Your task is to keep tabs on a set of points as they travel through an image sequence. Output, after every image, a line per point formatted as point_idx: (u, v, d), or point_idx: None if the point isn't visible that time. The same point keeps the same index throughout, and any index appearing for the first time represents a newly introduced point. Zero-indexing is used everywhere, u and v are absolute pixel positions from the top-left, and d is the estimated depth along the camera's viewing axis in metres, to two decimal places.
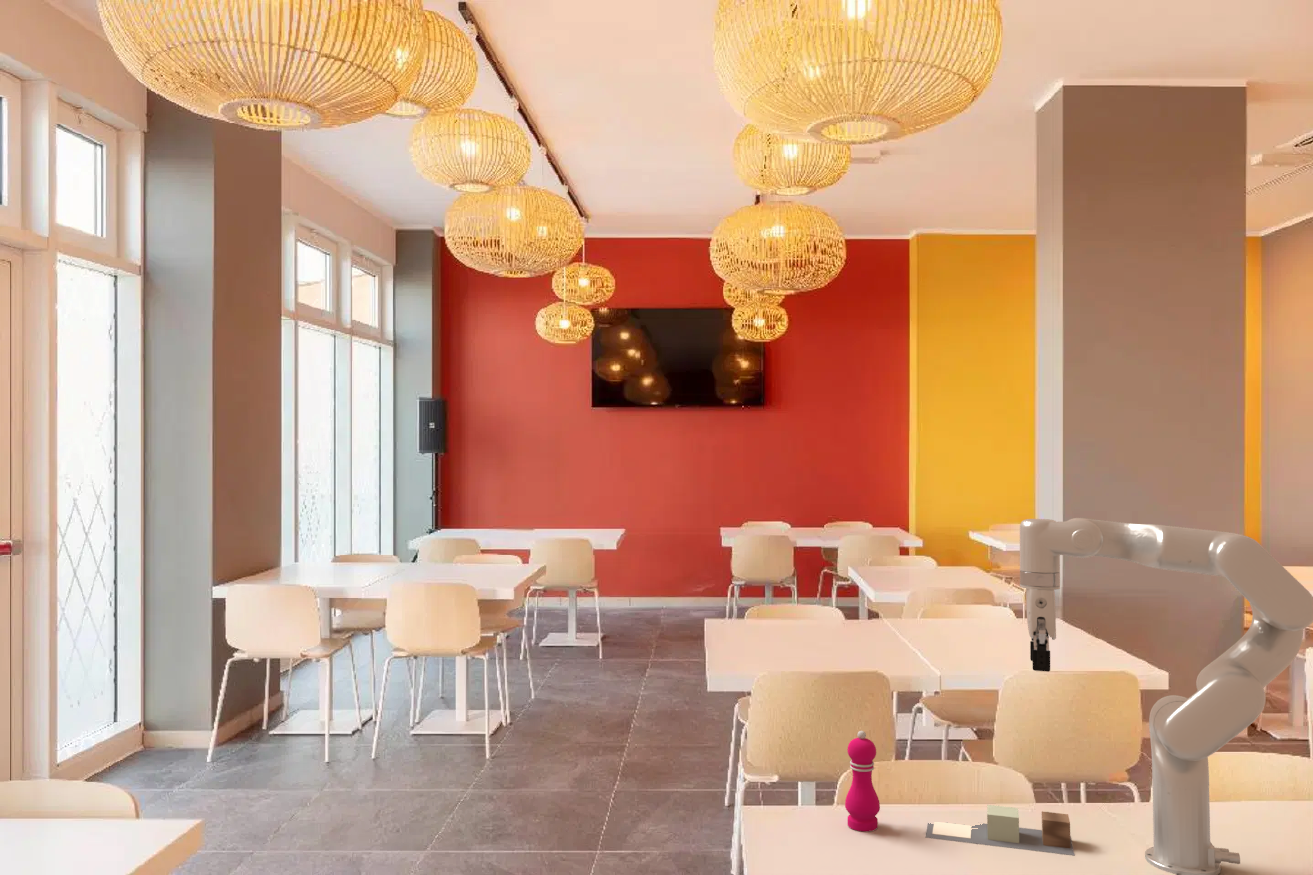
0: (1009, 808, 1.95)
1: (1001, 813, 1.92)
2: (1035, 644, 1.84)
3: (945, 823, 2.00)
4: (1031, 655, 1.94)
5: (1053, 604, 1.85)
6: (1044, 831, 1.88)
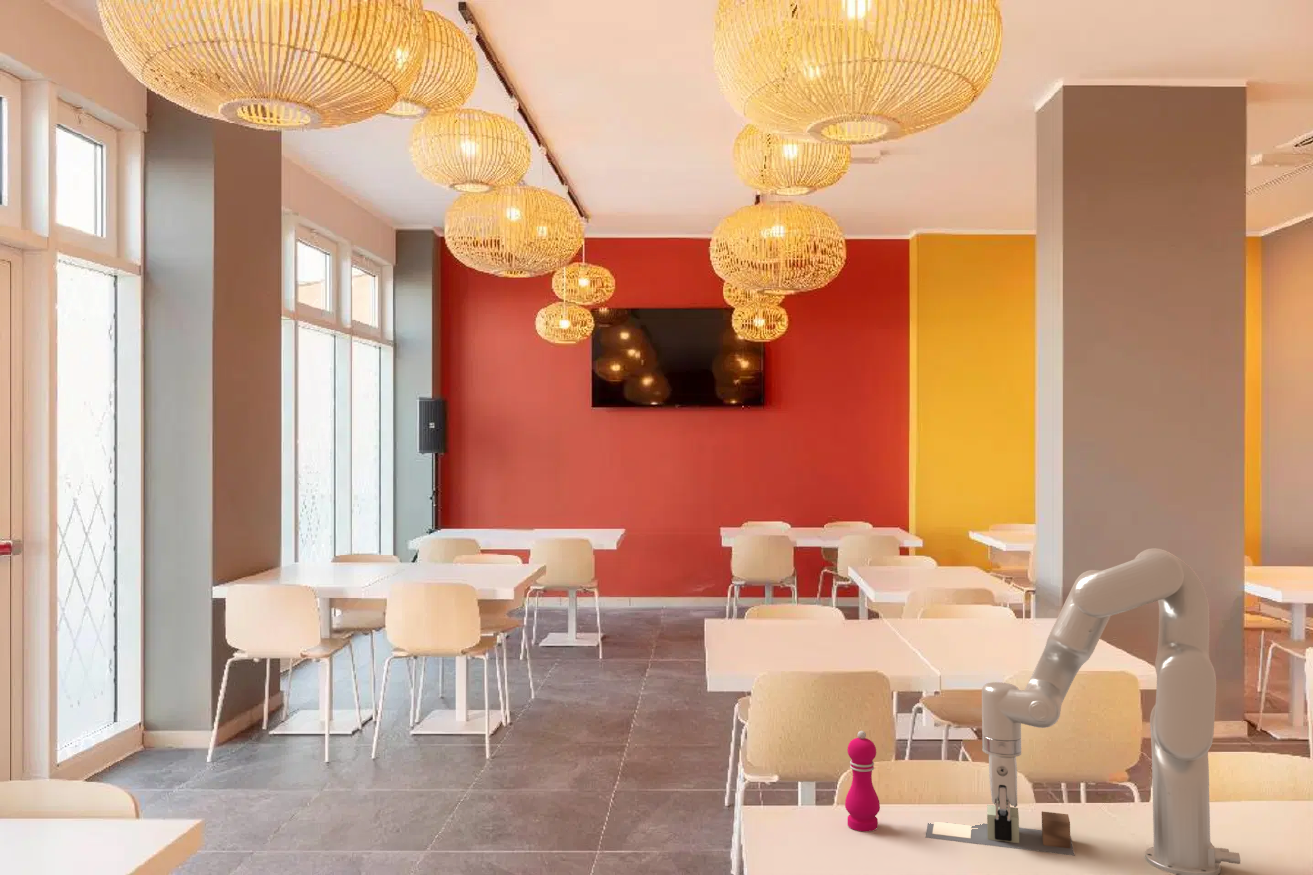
0: None
1: None
2: (997, 815, 1.90)
3: (945, 823, 2.00)
4: None
5: (1014, 772, 1.89)
6: (1044, 831, 1.88)
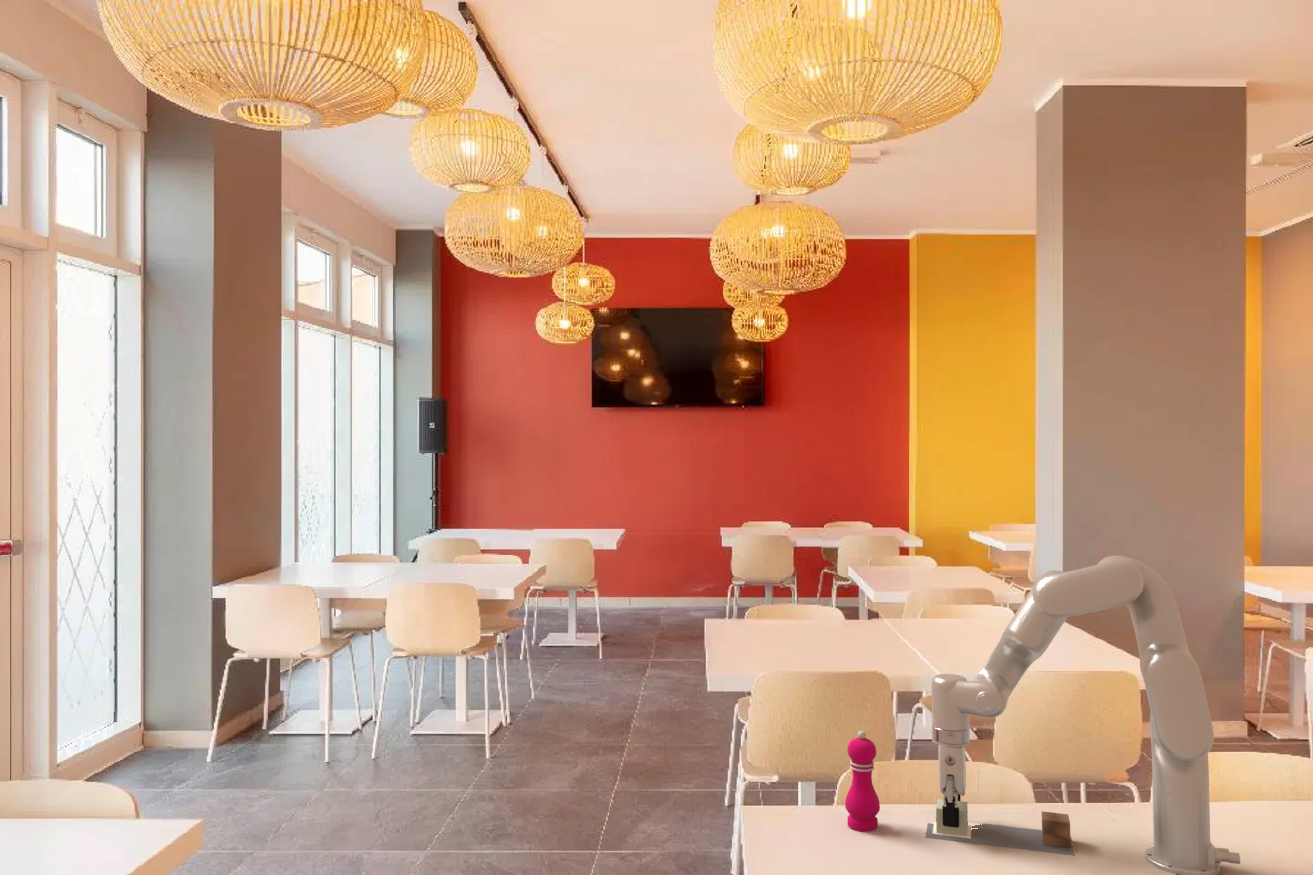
0: (958, 802, 1.98)
1: None
2: (944, 801, 1.92)
3: None
4: None
5: (961, 762, 1.92)
6: (1044, 831, 1.88)
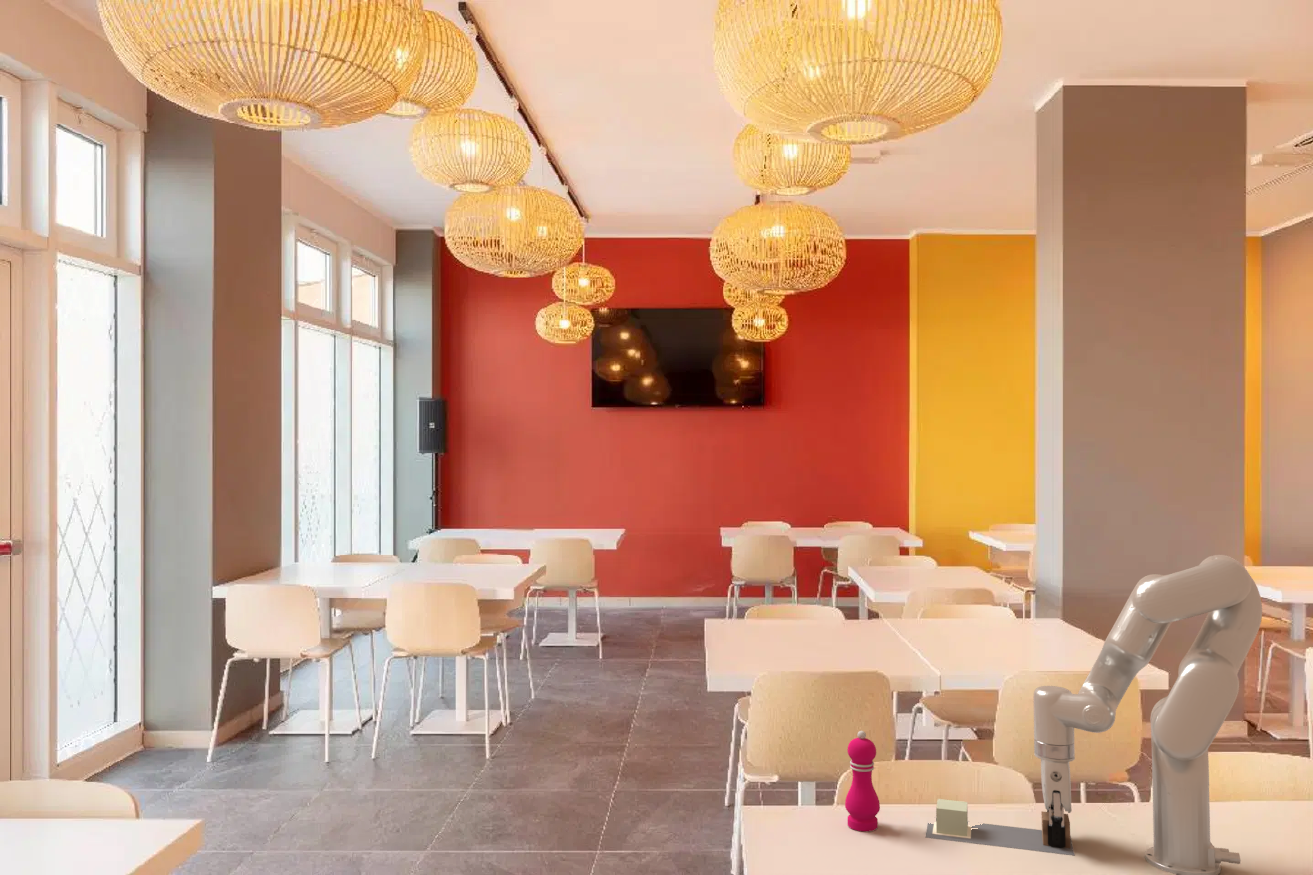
0: (958, 802, 1.98)
1: (949, 806, 1.96)
2: (1050, 821, 1.87)
3: None
4: None
5: (1068, 777, 1.85)
6: (1044, 831, 1.88)
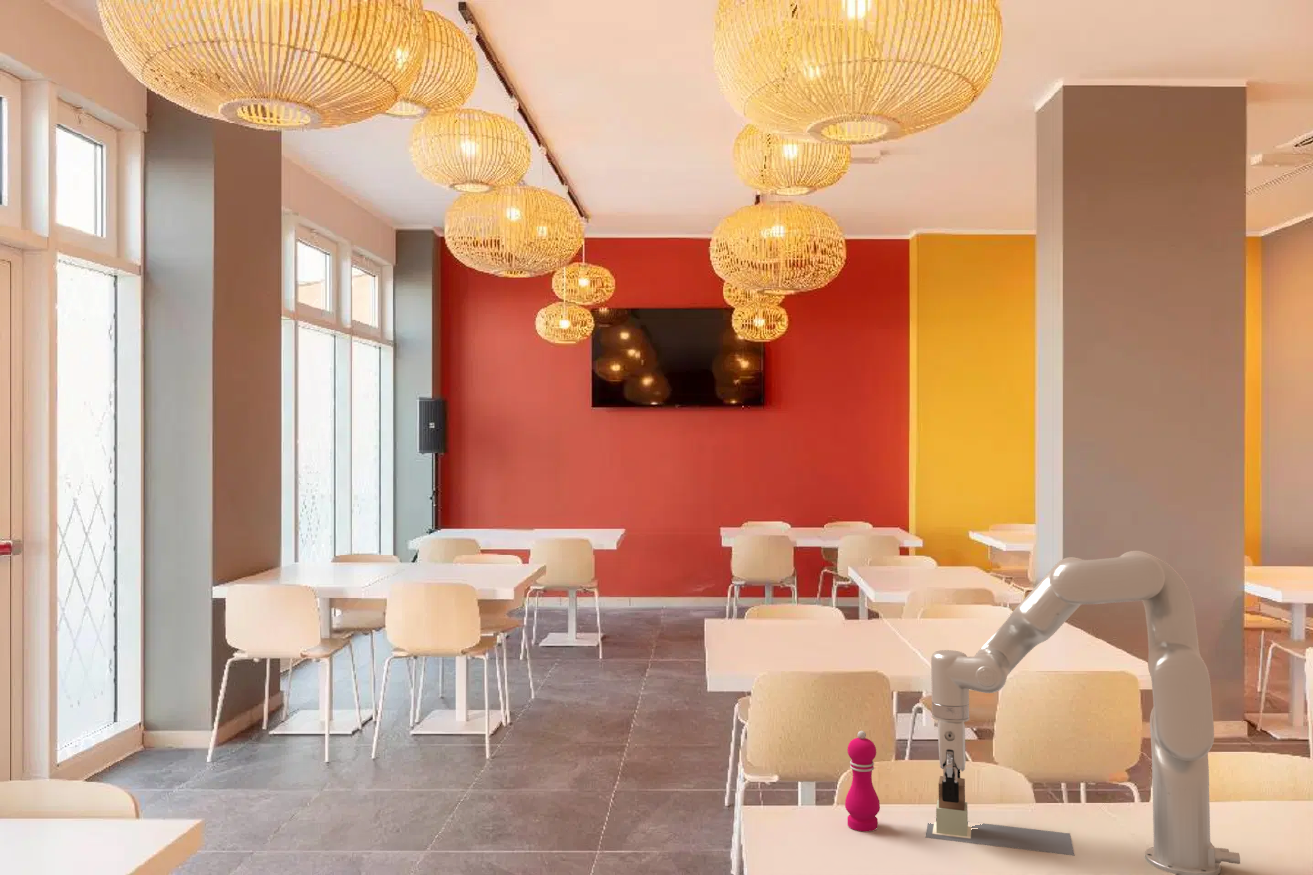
0: None
1: None
2: (944, 776, 1.92)
3: None
4: None
5: (961, 737, 1.92)
6: (940, 794, 1.95)
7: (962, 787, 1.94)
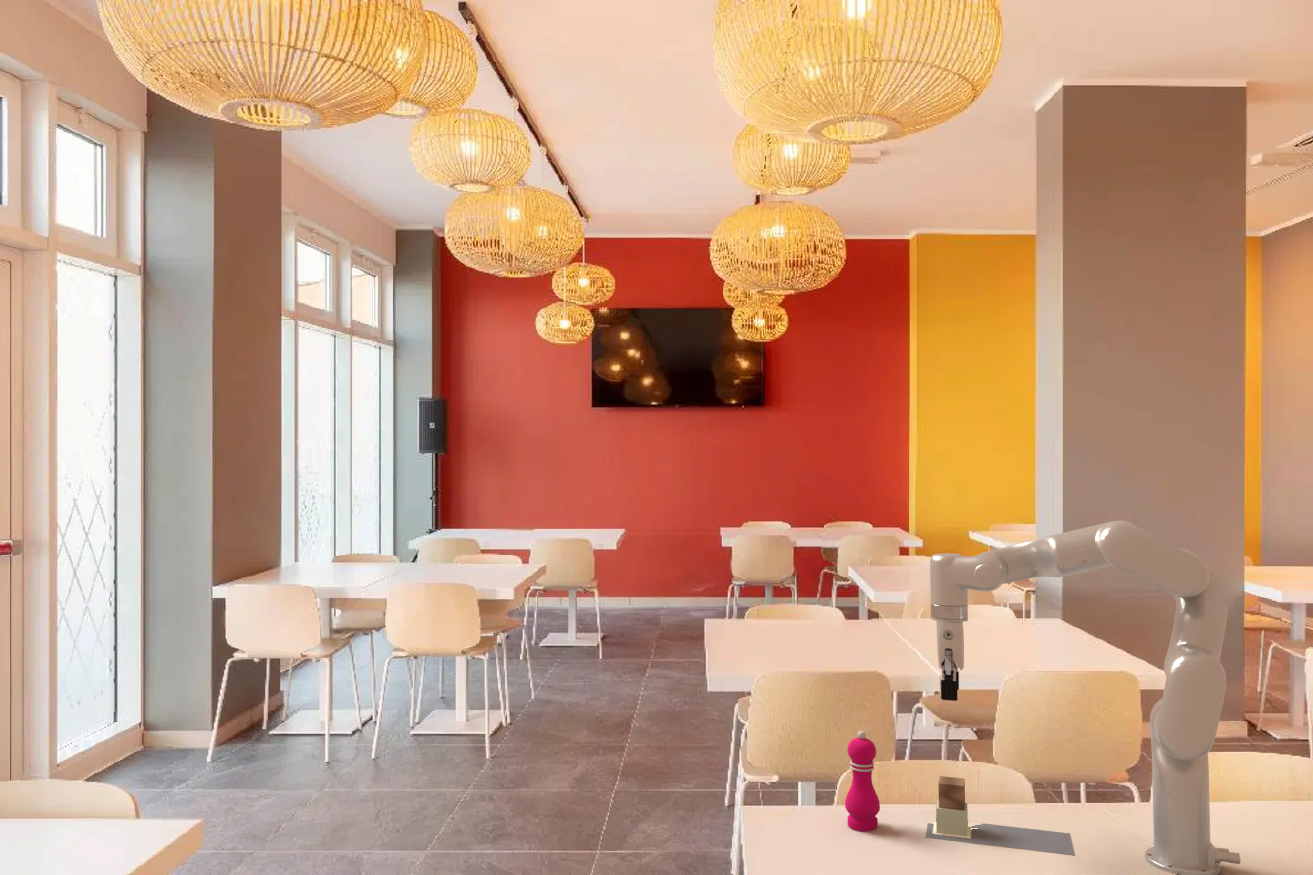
0: None
1: None
2: (943, 674, 1.93)
3: None
4: None
5: (960, 636, 1.93)
6: (940, 794, 1.95)
7: (962, 787, 1.94)
